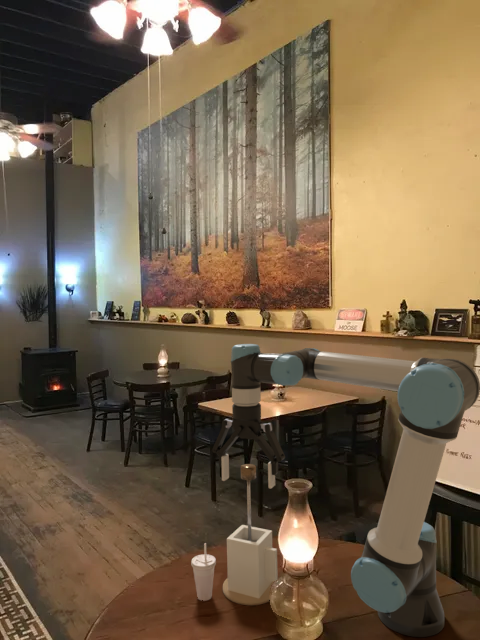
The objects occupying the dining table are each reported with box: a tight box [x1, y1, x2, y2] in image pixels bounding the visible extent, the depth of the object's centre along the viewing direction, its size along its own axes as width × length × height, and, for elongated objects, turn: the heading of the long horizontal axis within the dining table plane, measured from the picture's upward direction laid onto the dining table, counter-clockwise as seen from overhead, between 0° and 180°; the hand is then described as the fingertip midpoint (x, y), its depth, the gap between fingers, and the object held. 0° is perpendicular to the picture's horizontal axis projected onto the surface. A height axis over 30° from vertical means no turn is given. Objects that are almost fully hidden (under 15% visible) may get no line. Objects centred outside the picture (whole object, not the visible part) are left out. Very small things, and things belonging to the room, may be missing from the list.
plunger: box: [240, 463, 257, 542], centre depth 135 cm, size 6×6×22 cm
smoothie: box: [190, 542, 217, 602], centre depth 132 cm, size 6×6×14 cm
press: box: [222, 524, 279, 606], centre depth 136 cm, size 15×15×15 cm
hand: (248, 483), depth 135 cm, fingers open, 13 cm apart
